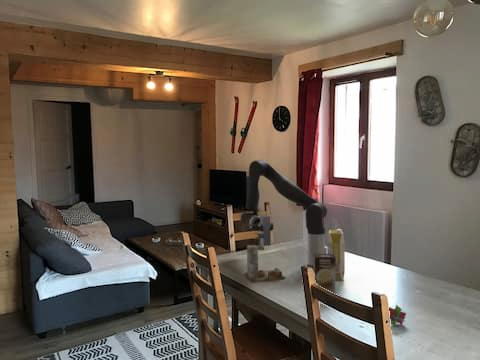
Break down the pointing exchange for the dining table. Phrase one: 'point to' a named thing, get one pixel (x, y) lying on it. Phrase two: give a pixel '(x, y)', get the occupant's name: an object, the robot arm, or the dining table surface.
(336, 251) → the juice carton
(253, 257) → the hinge jig
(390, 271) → the dining table surface
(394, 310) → the geometric puzzle
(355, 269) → the dining table surface
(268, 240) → the grey clamp fixture
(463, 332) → the dining table surface
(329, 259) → the coffee box
